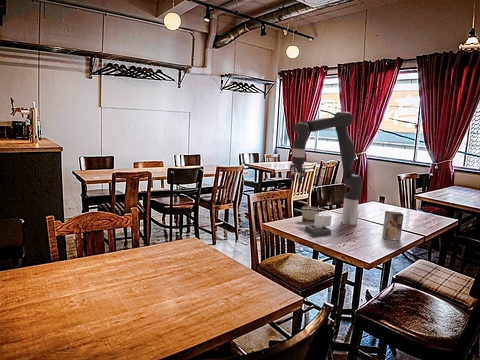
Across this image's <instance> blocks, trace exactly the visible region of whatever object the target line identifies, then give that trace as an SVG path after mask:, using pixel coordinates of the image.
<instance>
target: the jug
mask: <svg viewBox="0 0 480 360" xmlns="http://www.w3.org/2000/svg"><path fill="white" fill-rule="evenodd" d="M331 224H332V215H330V214H327V215H324V214H320V213H319V214H315V221H314V222H313V225H314V229H316V230H321V229H323V227H327V228H329V227H331Z"/></svg>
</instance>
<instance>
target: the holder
mask: <svg viewBox="0 0 480 360" xmlns="http://www.w3.org/2000/svg"><path fill="white" fill-rule="evenodd" d="M295 229H297V230H299V231H301V232H302V233H304V234H305V235H307V236H309V237H311V238H312V239H317V238H318V239H319V238H328V237H329V238H331V237H342V235H341V234H339V233H337V232H336V231H335V230H334V231H333V230H332V229H331V228H329V227H323V229H321V230H316V229H314V224H306V225H304V226H296V227H295Z"/></svg>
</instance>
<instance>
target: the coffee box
mask: <svg viewBox="0 0 480 360" xmlns="http://www.w3.org/2000/svg"><path fill="white" fill-rule="evenodd" d="M403 222H404V214H403V212H399V211H392V210H385V211H384V218H383V226H382V237H384V238H385V239H384V238H383V239H384V240H388V239H396V240H395V241H398V240H400V241H401V238H402V230H403Z"/></svg>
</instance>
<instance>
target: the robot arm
mask: <svg viewBox="0 0 480 360" xmlns="http://www.w3.org/2000/svg"><path fill="white" fill-rule="evenodd" d="M353 123H354V115H353V114H352V113H351V112H349V111H337V112H335V113H334V116H333V117H324V118H323V117H322V118H317V119H311V120H307V121H300V122H299V121H298V122H296V123H295V124H294V125H293V126H292V131H293V132H294V134H296V135H297V138H295V139H294V140H293V147H292V156H291V163H290V166H289V175H290V178H291V179H290V182H295V179H296V175H297V176H298V179H297V184H298V185H302V183H303V178H305V177H306V167H305V166H303V165H305V158H306V144H307V143H306V142H307V140H308V137H309V133H315V132H319V131H323V130H329V129H332V128H335V131H336V135H337V141H338V145H339V146H338V147H339V153H340V158H341V159H340V160H341V165H342V177H343V183H344V185H345V187H347V188H349V191H348V192H346V193H344V198H343V206H342V214H341V215H342V216H341V223H342V224H343V225H347V226H355V225H358V218H359V210H358V208H359V200H360V196H361V195H362V190H363V189H362V187H363V178H362V177H361V175H357V174H355V173H354V168H353V165H354V162H355V159H356V148H355V144H354V142H353V140H352V139H351V137H350V135H349V133H348V132H347V127H350V126H351V125H352V124H353Z"/></svg>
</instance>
